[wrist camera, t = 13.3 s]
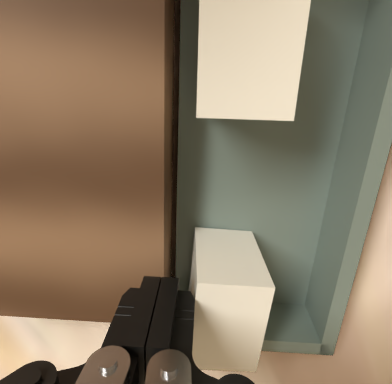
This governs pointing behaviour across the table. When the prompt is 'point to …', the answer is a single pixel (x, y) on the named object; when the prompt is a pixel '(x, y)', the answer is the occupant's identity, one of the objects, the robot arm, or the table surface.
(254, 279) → the cream square block
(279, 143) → the tray
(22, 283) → the walnut board
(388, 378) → the table surface
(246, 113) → the tile
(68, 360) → the table surface
